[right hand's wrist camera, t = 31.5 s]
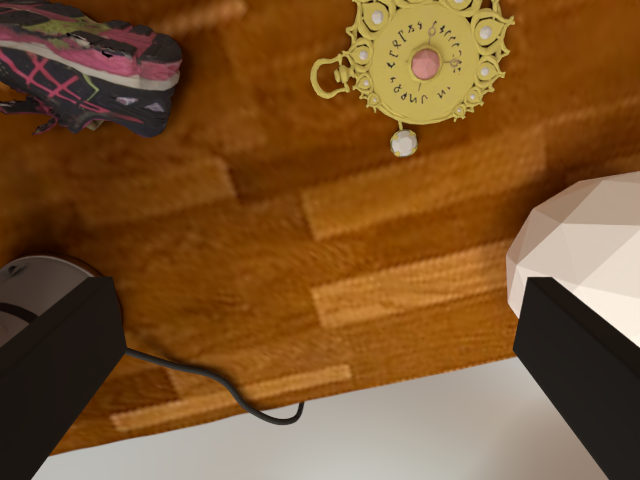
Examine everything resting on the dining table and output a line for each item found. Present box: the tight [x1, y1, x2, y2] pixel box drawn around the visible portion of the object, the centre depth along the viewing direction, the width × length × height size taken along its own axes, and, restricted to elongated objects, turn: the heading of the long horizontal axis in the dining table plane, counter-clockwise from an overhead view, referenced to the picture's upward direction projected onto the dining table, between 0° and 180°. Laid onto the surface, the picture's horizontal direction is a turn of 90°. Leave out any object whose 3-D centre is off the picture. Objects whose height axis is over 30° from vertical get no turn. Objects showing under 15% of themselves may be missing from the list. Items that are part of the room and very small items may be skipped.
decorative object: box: [310, 0, 515, 157], centre depth 38 cm, size 21×2×20 cm
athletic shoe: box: [0, 0, 182, 138], centre depth 36 cm, size 11×22×12 cm
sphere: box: [506, 171, 640, 347], centre depth 37 cm, size 19×20×20 cm
